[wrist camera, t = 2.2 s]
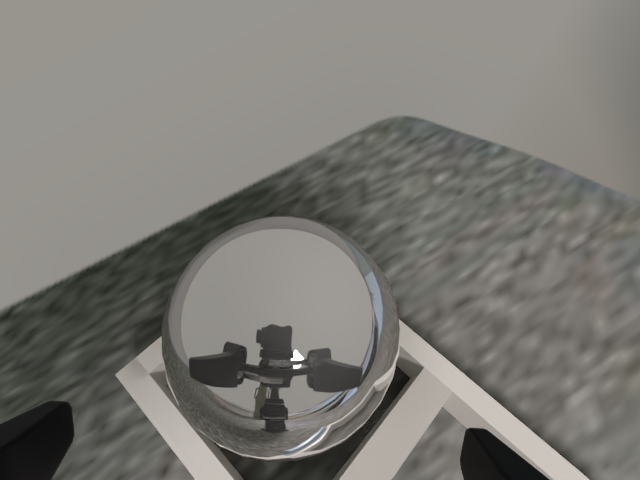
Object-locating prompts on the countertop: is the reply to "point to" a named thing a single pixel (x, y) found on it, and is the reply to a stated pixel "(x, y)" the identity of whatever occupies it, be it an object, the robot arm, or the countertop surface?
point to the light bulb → (280, 338)
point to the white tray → (382, 440)
